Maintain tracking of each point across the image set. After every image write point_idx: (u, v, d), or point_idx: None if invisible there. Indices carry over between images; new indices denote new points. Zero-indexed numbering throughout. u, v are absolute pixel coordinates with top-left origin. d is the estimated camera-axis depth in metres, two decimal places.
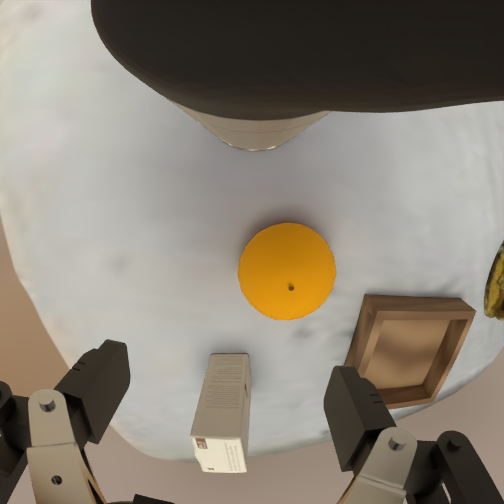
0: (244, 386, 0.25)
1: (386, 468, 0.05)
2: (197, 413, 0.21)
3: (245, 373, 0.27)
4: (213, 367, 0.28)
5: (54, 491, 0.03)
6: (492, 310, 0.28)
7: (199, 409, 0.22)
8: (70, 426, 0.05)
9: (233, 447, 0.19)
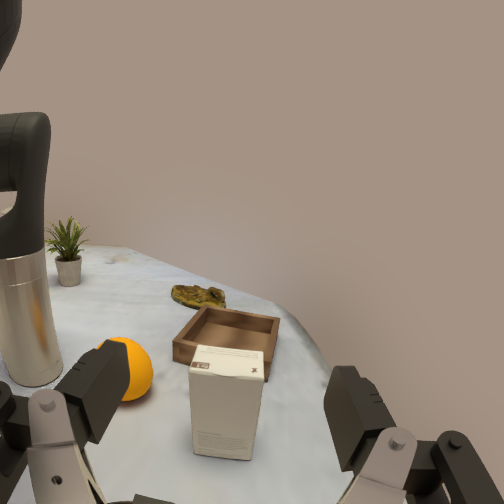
0: None
1: (386, 468, 0.05)
2: None
3: None
4: None
5: (54, 491, 0.03)
6: (218, 303, 0.59)
7: (190, 397, 0.22)
8: (70, 426, 0.05)
9: (209, 349, 0.24)
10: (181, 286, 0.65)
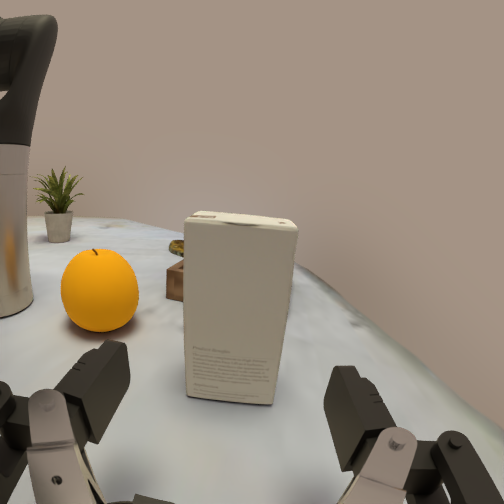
0: None
1: (386, 468, 0.05)
2: (183, 268, 0.15)
3: None
4: None
5: (54, 491, 0.03)
6: None
7: None
8: (70, 426, 0.05)
9: (216, 212, 0.18)
10: (180, 240, 0.59)
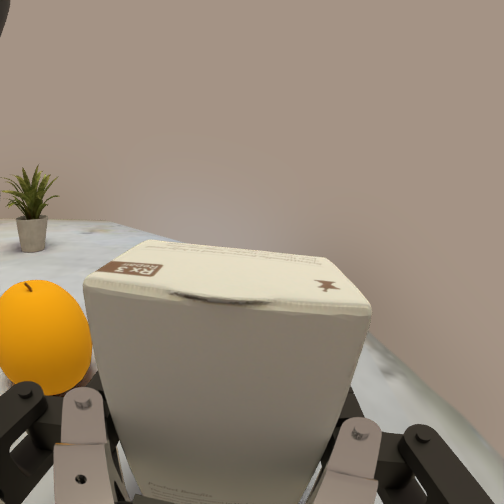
0: None
1: (345, 457, 0.05)
2: None
3: None
4: None
5: (76, 489, 0.03)
6: None
7: None
8: (104, 426, 0.05)
9: (176, 244, 0.08)
10: None
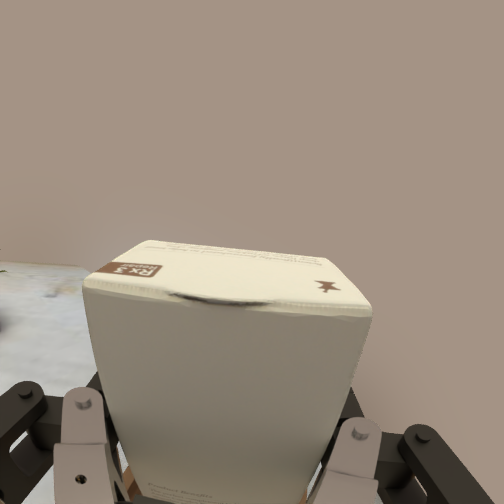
0: None
1: (345, 457, 0.05)
2: None
3: None
4: None
5: (76, 489, 0.03)
6: None
7: None
8: (104, 426, 0.05)
9: (175, 245, 0.08)
10: None
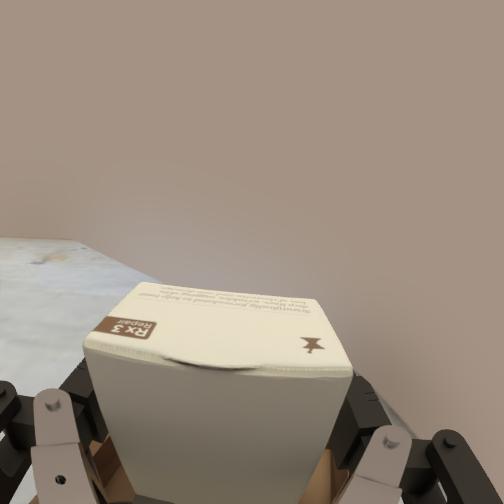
0: None
1: (380, 466, 0.05)
2: None
3: None
4: None
5: (57, 490, 0.03)
6: None
7: None
8: (75, 426, 0.05)
9: (168, 290, 0.08)
10: None
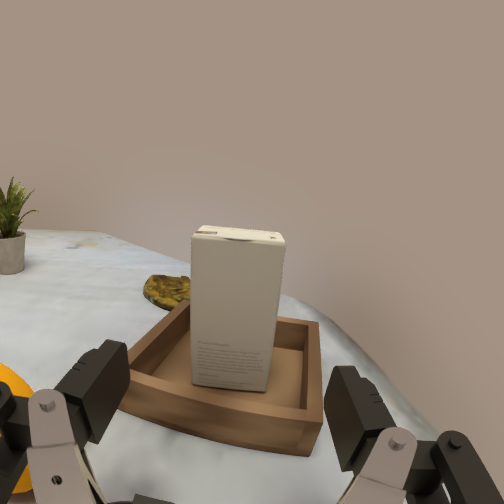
0: None
1: (386, 468, 0.05)
2: None
3: None
4: None
5: (54, 491, 0.03)
6: None
7: (191, 282, 0.19)
8: (70, 426, 0.05)
9: None
10: (161, 276, 0.42)
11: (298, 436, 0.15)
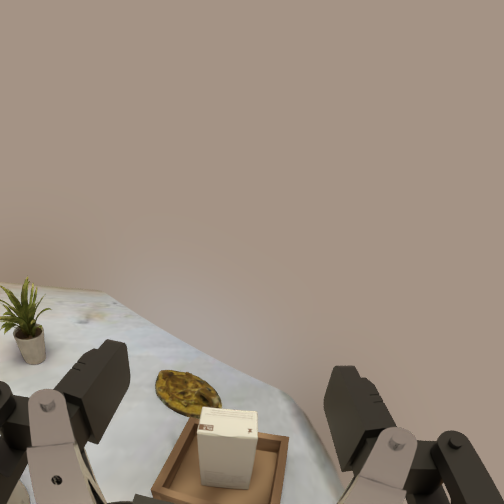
0: None
1: (386, 468, 0.05)
2: (198, 446, 0.24)
3: None
4: None
5: (54, 491, 0.03)
6: None
7: (198, 448, 0.24)
8: (70, 426, 0.05)
9: (212, 411, 0.26)
10: (168, 374, 0.47)
11: None
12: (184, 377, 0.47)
